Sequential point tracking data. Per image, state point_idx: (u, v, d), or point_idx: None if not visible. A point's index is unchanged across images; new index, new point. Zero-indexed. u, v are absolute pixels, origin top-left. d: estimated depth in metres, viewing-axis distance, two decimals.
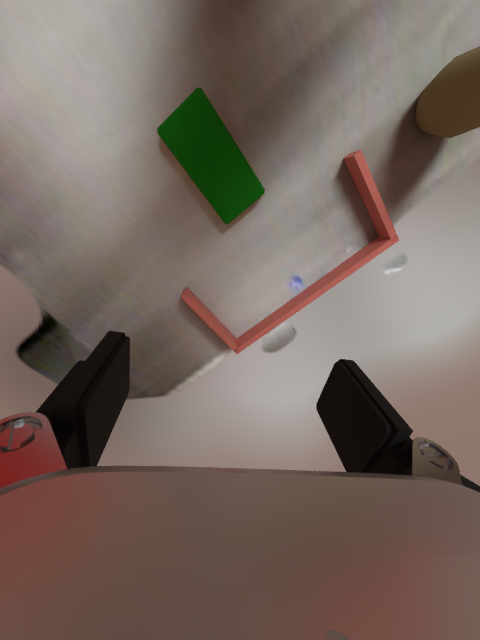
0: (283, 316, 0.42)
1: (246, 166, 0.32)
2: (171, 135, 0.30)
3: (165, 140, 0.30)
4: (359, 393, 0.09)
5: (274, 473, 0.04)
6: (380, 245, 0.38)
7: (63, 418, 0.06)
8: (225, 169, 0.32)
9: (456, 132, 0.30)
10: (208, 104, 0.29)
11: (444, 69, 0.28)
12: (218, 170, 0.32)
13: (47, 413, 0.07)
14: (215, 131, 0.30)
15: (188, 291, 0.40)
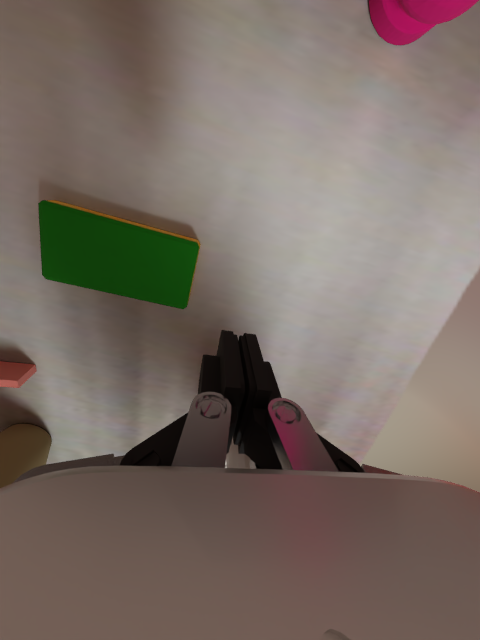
0: None
1: (87, 284, 0.24)
2: (181, 251, 0.23)
3: (184, 242, 0.23)
4: (243, 361, 0.10)
5: (274, 473, 0.04)
6: None
7: (230, 397, 0.08)
8: (104, 264, 0.23)
9: None
10: (168, 303, 0.26)
11: (39, 459, 0.31)
12: (110, 257, 0.23)
13: None
14: (144, 289, 0.25)
15: None
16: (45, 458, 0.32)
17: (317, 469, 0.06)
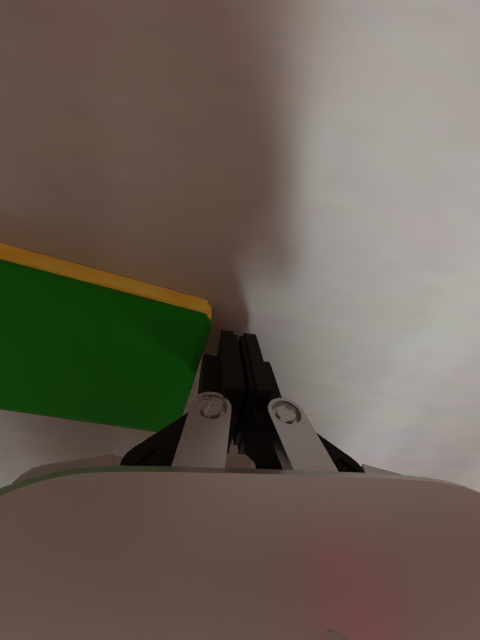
0: None
1: None
2: (169, 335, 0.10)
3: (177, 315, 0.10)
4: (244, 361, 0.10)
5: (274, 473, 0.04)
6: None
7: (231, 397, 0.08)
8: None
9: None
10: (138, 426, 0.12)
11: None
12: None
13: None
14: (85, 404, 0.11)
15: None
16: None
17: (317, 469, 0.06)
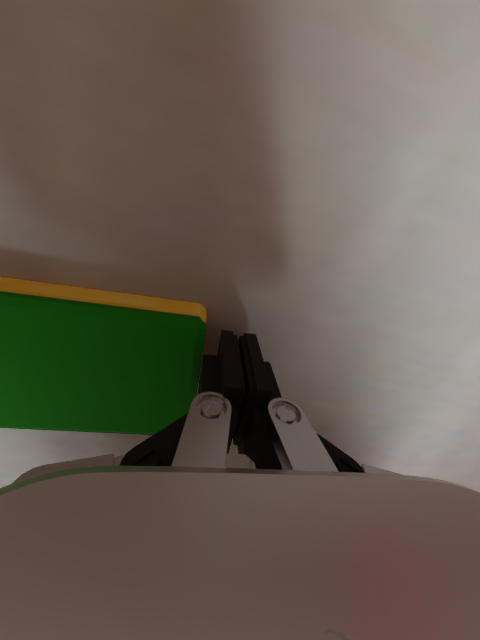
0: None
1: None
2: (167, 342, 0.10)
3: (170, 322, 0.10)
4: (244, 361, 0.10)
5: (274, 473, 0.04)
6: None
7: (231, 397, 0.08)
8: (1, 385, 0.11)
9: None
10: (153, 432, 0.13)
11: None
12: (9, 371, 0.10)
13: None
14: (100, 416, 0.12)
15: None
16: None
17: (317, 469, 0.06)
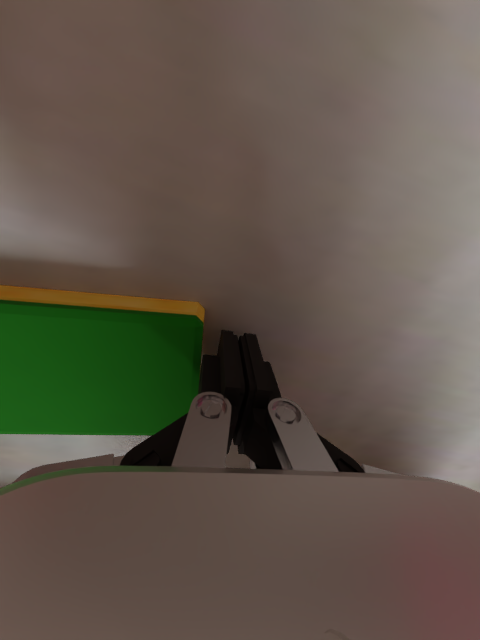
0: None
1: None
2: (165, 342, 0.10)
3: (167, 322, 0.10)
4: (244, 361, 0.10)
5: (274, 473, 0.04)
6: None
7: (231, 397, 0.08)
8: (5, 392, 0.11)
9: None
10: None
11: None
12: (12, 378, 0.10)
13: None
14: (104, 419, 0.12)
15: None
16: None
17: (317, 469, 0.06)
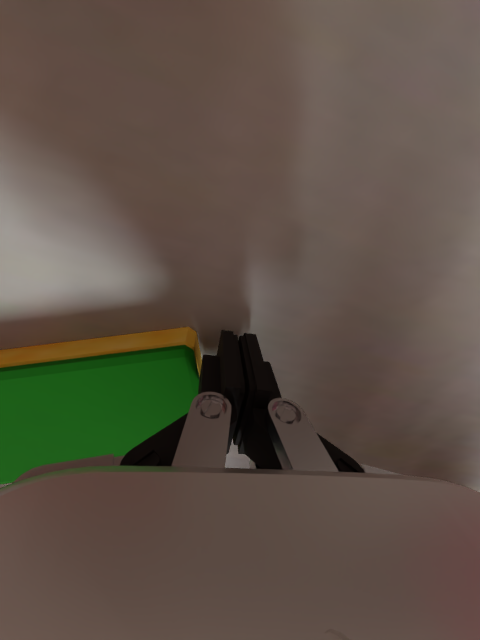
0: None
1: None
2: (161, 375, 0.11)
3: (158, 357, 0.10)
4: (243, 361, 0.10)
5: (274, 473, 0.04)
6: None
7: (231, 397, 0.08)
8: (36, 443, 0.12)
9: None
10: None
11: None
12: (39, 430, 0.12)
13: None
14: (126, 452, 0.13)
15: None
16: None
17: (317, 469, 0.06)
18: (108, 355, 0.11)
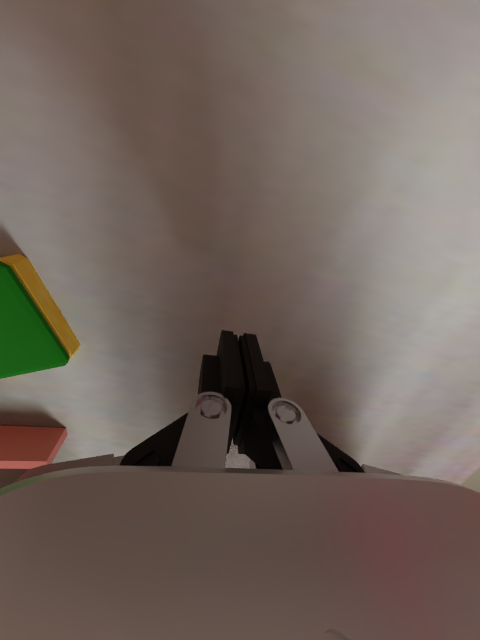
0: None
1: None
2: None
3: None
4: (243, 361, 0.10)
5: (274, 473, 0.04)
6: None
7: (231, 397, 0.08)
8: None
9: None
10: (38, 367, 0.16)
11: None
12: None
13: None
14: None
15: None
16: None
17: (317, 469, 0.06)
18: None
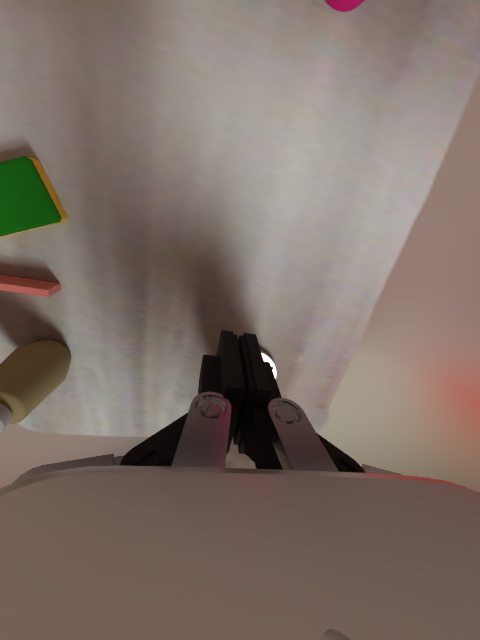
0: None
1: None
2: (20, 170, 0.28)
3: (16, 161, 0.28)
4: (244, 361, 0.10)
5: (274, 473, 0.04)
6: None
7: (230, 397, 0.08)
8: None
9: (7, 357, 0.35)
10: (45, 222, 0.31)
11: (63, 364, 0.38)
12: None
13: None
14: (21, 218, 0.30)
15: None
16: (67, 366, 0.39)
17: (317, 469, 0.06)
18: None
